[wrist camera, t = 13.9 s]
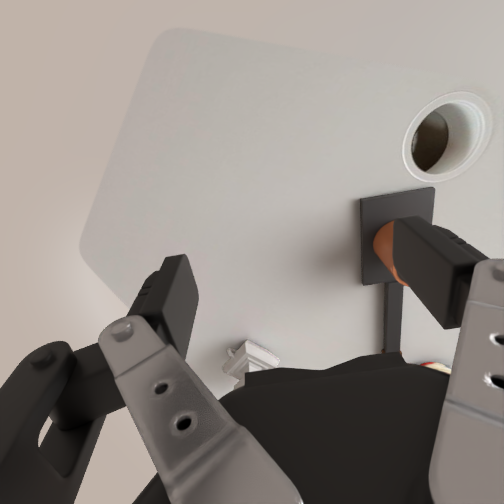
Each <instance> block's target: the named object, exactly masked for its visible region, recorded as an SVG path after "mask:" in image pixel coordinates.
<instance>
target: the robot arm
mask: <svg viewBox="0 0 504 504" xmlns="http://www.w3.org/2000/svg"><path fill="white" fill-rule="evenodd" d="M392 259H393V264H394V267H395V269H396V271H397V272H398V273H399V275H400V276H401V277H402V278H403V280H404V281H405V282H406V283H407V285H408V286H409V287H410V288H411V289H412V291H413V292H414V293H415V294H416V296H417V297H418V298H419V299H420V300H421V302H422V303H423V304H424V305H425V307H426V308H427V309H428V310H429V311H430V313H431V314H432V315H433V316H434V318H435V319H436V320H437V321H438V322H439V324H440V325H441V326H442V327H443V329H444V330H445V329H452V328H459V327H461V329H460V333H459V338H458V343H457V347H456V352H455V356H454V361H453V365H452V370H451V374H450V375H449V374H447V373H445V372H442V371H439V370H436V369H434V368H430V367H426V366H422V365H416V364H409V363H406V362H405V361H404V359H403V357H402V355H401V354H400V352H399V351H396V352H389V353H382V354H375V355H367V356H360V357H358V358H355V359H352V360H350V361H347V362H344V363H342V364H339V365H336V366H334V367H331V368H328V369H325V370H309V369H295V368H274V369H267V370H260V371H253V372H246V373H245V385H244V386H241V387H239V388H237V389H235V390H233V391H231V392H229V393H228V394H226V395H225V396H223V397H222V398H220V399H219V400H217V399H216V398H215V396H214V395H213V394H212V393H211V392H210V390H209V389H208V388H207V387H206V386H205V384H204V383H203V382H202V381H201V380H200V378H199V377H198V376H197V375H196V374H195V372H194V371H193V370H192V369H191V368H190V366H189V365H188V364H187V363H186V362H185V359H186V354H187V350H188V345H189V341H190V337H191V332H192V328H193V323H194V319H195V315H196V310H197V306H198V301H199V295H198V289H197V285H196V282H195V279H194V276H193V273H192V269H191V266H190V263H189V260H188V258H187V256H186V255H185V254H181V255H176V256H170V257H166V258H165V260H164V262H163V264H162V266H161V268H160V270H159V271H155V272H153V273H152V274H151V275H150V276H149V277H148V278H147V279H146V280H145V282H144V284H143V286H142V289H140V291H139V293H138V296H137V297H136V299H135V301H134V303H133V304H132V306H131V308H130V310H129V312H128V314H127V316H126V317H123V318H120V319H118V320H116V321H114V322H112V323H111V324H110V325H108V326H107V327H106V328H105V329H104V330H103V331H102V332H101V334H100V335H99V338H98V343H95V344H92V345H90V346H87V347H85V348H82V349H79V350H76V351H74V352H73V351H72V349H71V347H70V346H69V344H68V343H66V342H64V341H56V342H52V343H48V344H46V345H44V346H41V347H40V348H38V349H36V350H34V351H33V352H31V353H30V354H29V355H28V356H26V357H25V358H24V359H23V360H22V361H21V362H20V363H19V365H18V366H17V367H16V369H15V370H14V371H13V373H12V374H11V375H10V377H9V378H8V379H7V380H6V382H5V383H4V384H3V386H2V387H1V388H0V504H74V501H75V499H76V496H77V493H78V491H79V488H80V485H81V483H82V480H83V477H84V474H85V472H86V469H87V466H88V464H89V461H90V458H91V456H92V453H93V450H94V448H95V445H96V442H97V439H98V437H99V434H100V431H101V429H102V426H103V423H104V421H105V418H106V415H107V414H109V413H111V412H114V411H116V410H118V409H121V408H123V407H125V406H127V408H128V410H129V412H130V414H131V416H132V418H133V420H134V423H135V425H136V427H137V429H138V431H139V433H140V435H141V437H142V439H143V441H144V443H145V446H146V448H147V450H148V452H149V454H150V457H151V459H152V461H153V463H154V465H155V467H156V469H157V471H158V472H157V473H156V475H155V476H154V478H152V480H151V481H150V482H149V483H148V485H147V486H146V487H145V488H144V490H143V491H142V492H141V493H140V495H139V496H138V497H137V499H136V500H135V501H134V502H133V503H132V504H504V259H490V258H488V257H487V256H485V255H484V254H483V253H481V252H480V251H478V250H477V249H475V248H474V247H473V246H471V245H470V244H467V243H466V241H464V240H463V239H461V238H458V236H457V235H456V234H454V233H453V232H451V231H450V230H448V229H445V228H442V227H439V226H436V225H431V224H430V223H428V222H427V221H426V220H424V219H423V218H422V217H420V216H419V215H413V216H407V217H402V218H396V219H395V220H394V224H393V247H392ZM48 416H49V417H50V418H51V420H52V421H53V422H52V424H51V426H50V428H49V430H48V432H47V434H46V435H45V437H44V439H43V441H42V443H41V445H40V447H38V438H39V434H40V431H41V429H42V427H43V425H44V423H45V421H46V420H47V418H48Z"/></svg>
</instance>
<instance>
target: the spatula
mask: <svg viewBox="0 0 504 504" xmlns="http://www.w3.org/2000/svg"><path fill="white" fill-rule="evenodd" d="M434 197H435V188H433V187H428V188H423V189H417V190H411V191H405V192H399V193H393V194H387V195H381V196H375V197H369V198H364V199H360V209H361V268H362V284H363V286H365V285H372V284H378V283H385V313H384V349H383V350H382V353H389V352H396V351H399V352H400V354H401V355H402V352H401V351H400V338H401V321H402V303H403V286H404V285H402V284H400V283H399V282H398V281H397V280H396V279H395V278H394V276H393V275H392V274H391V273H390V271H389V270H388V269H387V267H386V266H385V265H384V264H383V262H382V261H381V260H380V259H379V257H378V256H377V255H376V253H375V251H374V248H373V241H374V238H375V236H376V234H377V232H378V231H379V230H380V229H381V228H382V227H383V226H384V225H385V224H387V223H389V222H391V221H394V220H395V219H396V218H402V217H407V216H413V215H419V216H420V217H422V218H423V219H424V220H426V221H427V222H428V223H430V224H431V225H432V218H433V208H434Z"/></svg>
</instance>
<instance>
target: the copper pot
mask: <svg viewBox="0 0 504 504" xmlns="http://www.w3.org/2000/svg"><path fill="white" fill-rule="evenodd" d="M393 224H394V221H391V222H389V223H387V224H385V225H384V226H383V227H382V228H381V229H380V230H379V231H378V232H377V234H376V236H375V238H374V241H373V248H374V251H375V253H376V255H377V256H378V257H379V259H380V260H381V261H382V262H383V264H384V265H385V266H386V267H387V269H388V270H389V271H390V273H391V274H392V275H393V276H394V278H395V279H396V280H397V281H398V282H399V283H400V284H402V285H405V286H408V285H407V283H406V282H405V281H404V280H403V278H402V277H401V276H400V275H399V273H398V272H397V271H396V269H395V267H394V264H393V259H392V247H393ZM408 287H409V286H408Z"/></svg>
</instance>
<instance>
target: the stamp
mask: <svg viewBox="0 0 504 504" xmlns="http://www.w3.org/2000/svg"><path fill="white" fill-rule="evenodd" d="M227 353H228V355H229V356H230V357H231V358H230V359H229V360H228V361H227V362H226V363H225V364H224V366H223V367H222V368H223V371H224V372H225V373H226V374H229V375H231V376H233V377H235V378H237V379H239V380H240V381H239V382H238V383H237V384H236V385H235V386H234V390H235V389H237V388H239V387H241V386H244V385H245V373H246V372H253V371H260V370H267V369H274V368H275V367H276V366H277V365H278V364H279V359H278V358H277V357H276V356H274V355H273V354H272V353H270V352H269V351H268V350H266V349H264V348H262V347H260V346H258V345H257V344H255V343H253V342H251V341H249V340H247V341H245V343H244V344H243V345H242V346H241V347H240V348H239V349H238V350H235V349H231V348H229V349H227ZM233 353H234V354H233Z"/></svg>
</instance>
